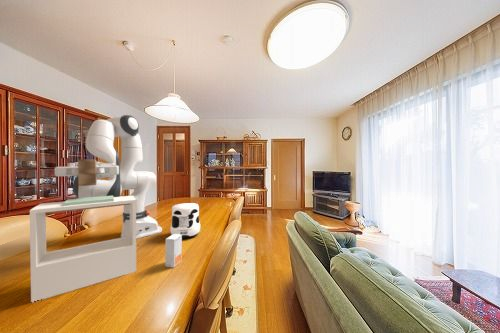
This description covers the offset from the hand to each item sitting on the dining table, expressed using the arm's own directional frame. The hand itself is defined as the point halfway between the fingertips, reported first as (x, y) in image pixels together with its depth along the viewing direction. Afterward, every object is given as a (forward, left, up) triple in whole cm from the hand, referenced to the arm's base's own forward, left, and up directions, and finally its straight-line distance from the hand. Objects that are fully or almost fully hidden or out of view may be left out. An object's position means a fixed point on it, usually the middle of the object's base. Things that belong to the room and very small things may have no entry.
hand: (87, 170), depth 73 cm
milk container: (-44, -19, -41) cm, 63 cm away
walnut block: (0, -1, -6) cm, 6 cm away
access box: (-1, +2, -41) cm, 41 cm away
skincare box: (-29, +11, -41) cm, 52 cm away
